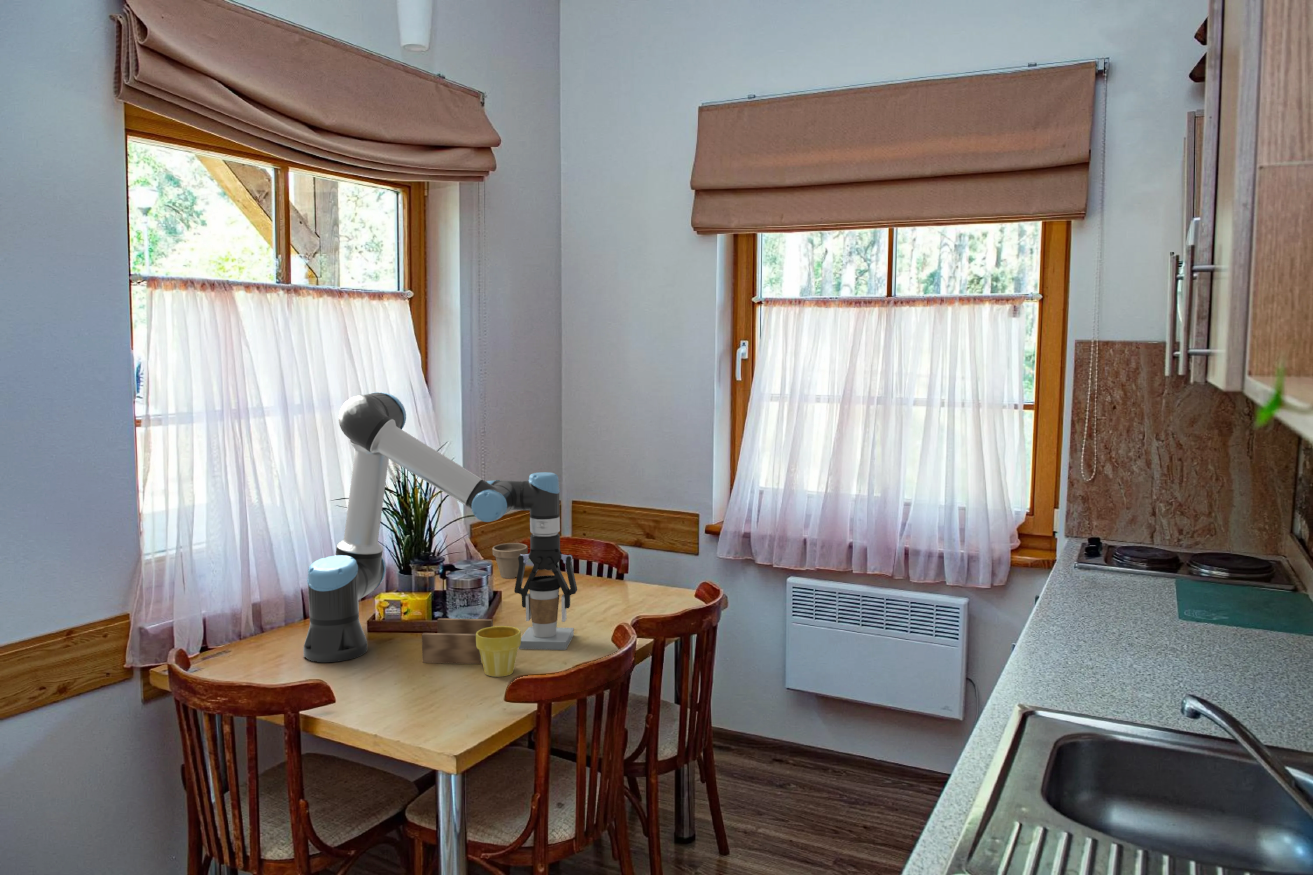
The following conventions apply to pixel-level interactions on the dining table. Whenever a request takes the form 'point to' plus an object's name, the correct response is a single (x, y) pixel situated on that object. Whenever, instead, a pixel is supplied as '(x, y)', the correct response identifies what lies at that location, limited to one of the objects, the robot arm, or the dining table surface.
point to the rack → (454, 641)
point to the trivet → (547, 640)
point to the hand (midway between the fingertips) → (546, 619)
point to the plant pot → (498, 649)
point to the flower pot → (509, 558)
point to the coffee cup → (544, 605)
